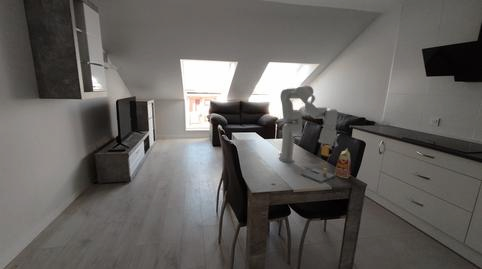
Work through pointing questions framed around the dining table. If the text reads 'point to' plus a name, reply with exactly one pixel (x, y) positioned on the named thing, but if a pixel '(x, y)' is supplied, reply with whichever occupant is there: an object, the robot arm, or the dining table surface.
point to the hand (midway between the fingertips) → (326, 152)
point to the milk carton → (343, 165)
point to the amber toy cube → (325, 150)
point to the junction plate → (318, 175)
